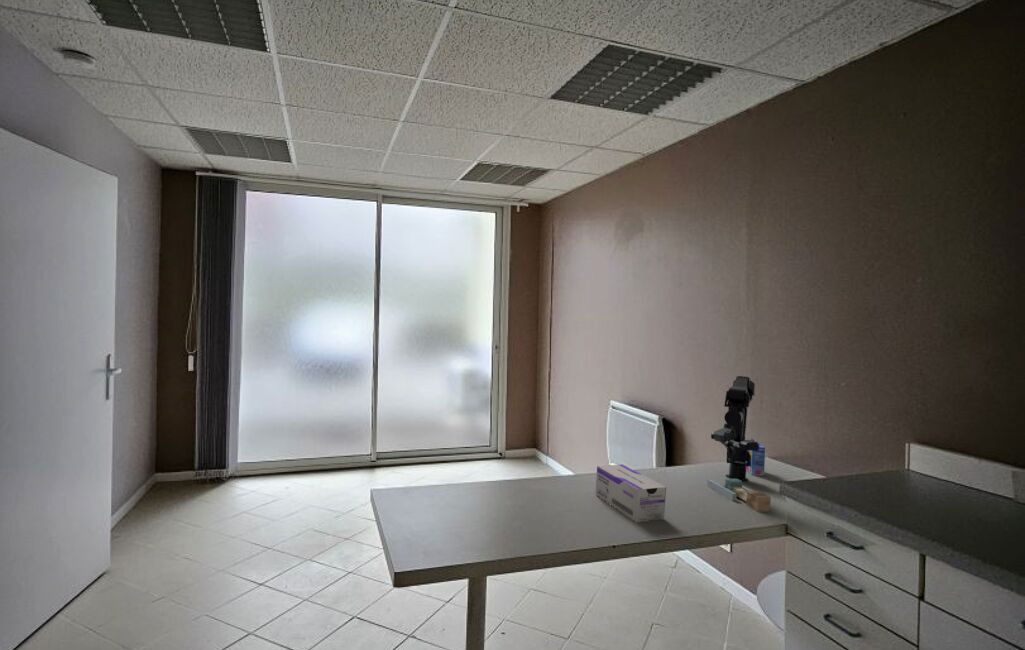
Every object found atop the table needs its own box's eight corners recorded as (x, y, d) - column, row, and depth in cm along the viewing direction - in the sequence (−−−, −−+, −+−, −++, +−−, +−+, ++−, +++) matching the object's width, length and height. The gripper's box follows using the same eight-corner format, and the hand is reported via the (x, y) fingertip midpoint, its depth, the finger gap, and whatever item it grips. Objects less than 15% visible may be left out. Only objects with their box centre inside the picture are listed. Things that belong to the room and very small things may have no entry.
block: (745, 505, 189) (746, 491, 189) (758, 504, 190) (759, 491, 190) (757, 511, 183) (758, 497, 183) (769, 511, 185) (770, 497, 184)
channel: (707, 485, 208) (707, 479, 208) (729, 485, 211) (730, 479, 210) (732, 500, 193) (732, 493, 193) (756, 500, 195) (757, 493, 195)
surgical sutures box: (664, 519, 172) (666, 487, 171) (636, 523, 168) (638, 489, 167) (620, 493, 195) (622, 464, 194) (595, 495, 191) (597, 466, 191)
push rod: (724, 490, 201) (725, 478, 201) (736, 490, 203) (737, 478, 202) (746, 502, 189) (746, 490, 189) (758, 502, 190) (759, 490, 190)
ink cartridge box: (743, 468, 236) (745, 435, 236) (756, 469, 236) (758, 436, 235) (751, 475, 227) (753, 441, 226) (764, 476, 226) (766, 442, 226)
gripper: (701, 417, 207) (698, 457, 207) (737, 427, 189) (734, 471, 190) (723, 416, 211) (721, 455, 211) (761, 427, 193) (758, 469, 194)
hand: (732, 462), depth 201 cm, fingers closed
